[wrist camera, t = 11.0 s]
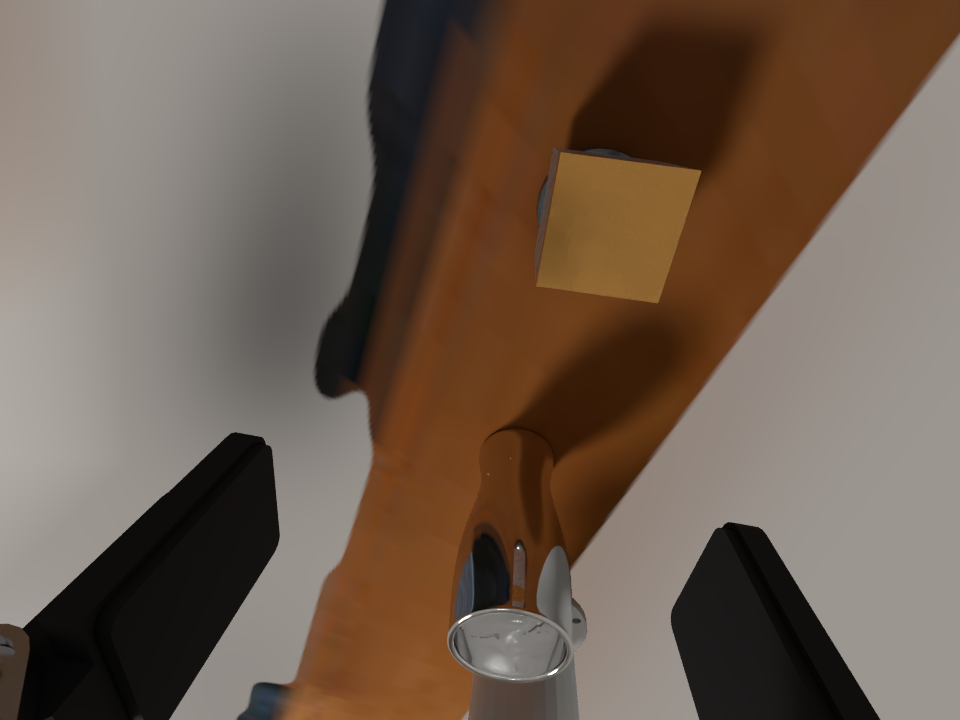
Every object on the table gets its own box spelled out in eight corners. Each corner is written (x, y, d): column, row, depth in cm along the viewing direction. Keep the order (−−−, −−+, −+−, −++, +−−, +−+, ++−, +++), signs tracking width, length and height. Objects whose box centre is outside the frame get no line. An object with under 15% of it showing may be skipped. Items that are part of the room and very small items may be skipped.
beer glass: (577, 453, 35) (606, 649, 22) (524, 501, 38) (521, 699, 25) (507, 407, 34) (494, 587, 20) (458, 461, 36) (418, 649, 23)
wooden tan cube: (661, 161, 23) (701, 170, 18) (631, 267, 26) (658, 303, 21) (553, 147, 23) (560, 152, 18) (534, 254, 26) (536, 285, 21)
